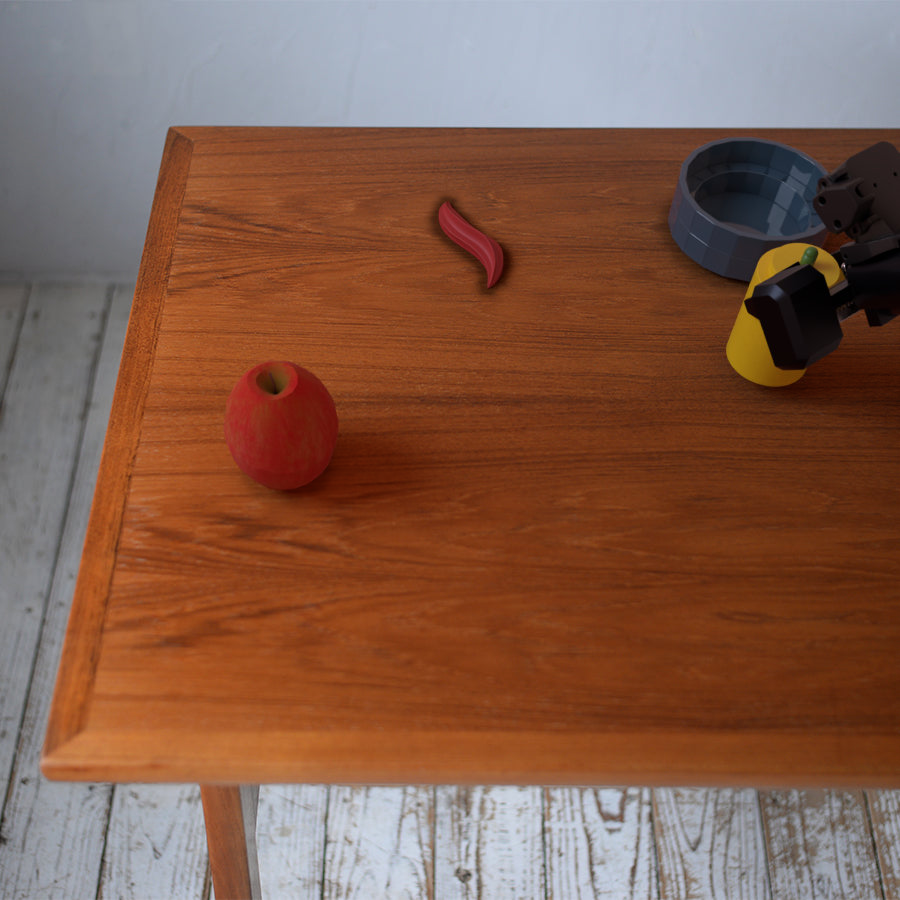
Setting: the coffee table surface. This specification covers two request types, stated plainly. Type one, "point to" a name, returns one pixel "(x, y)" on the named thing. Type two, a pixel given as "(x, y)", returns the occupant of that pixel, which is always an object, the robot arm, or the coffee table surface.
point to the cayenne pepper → (472, 241)
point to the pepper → (747, 334)
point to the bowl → (744, 203)
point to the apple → (281, 425)
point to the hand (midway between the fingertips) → (778, 287)
